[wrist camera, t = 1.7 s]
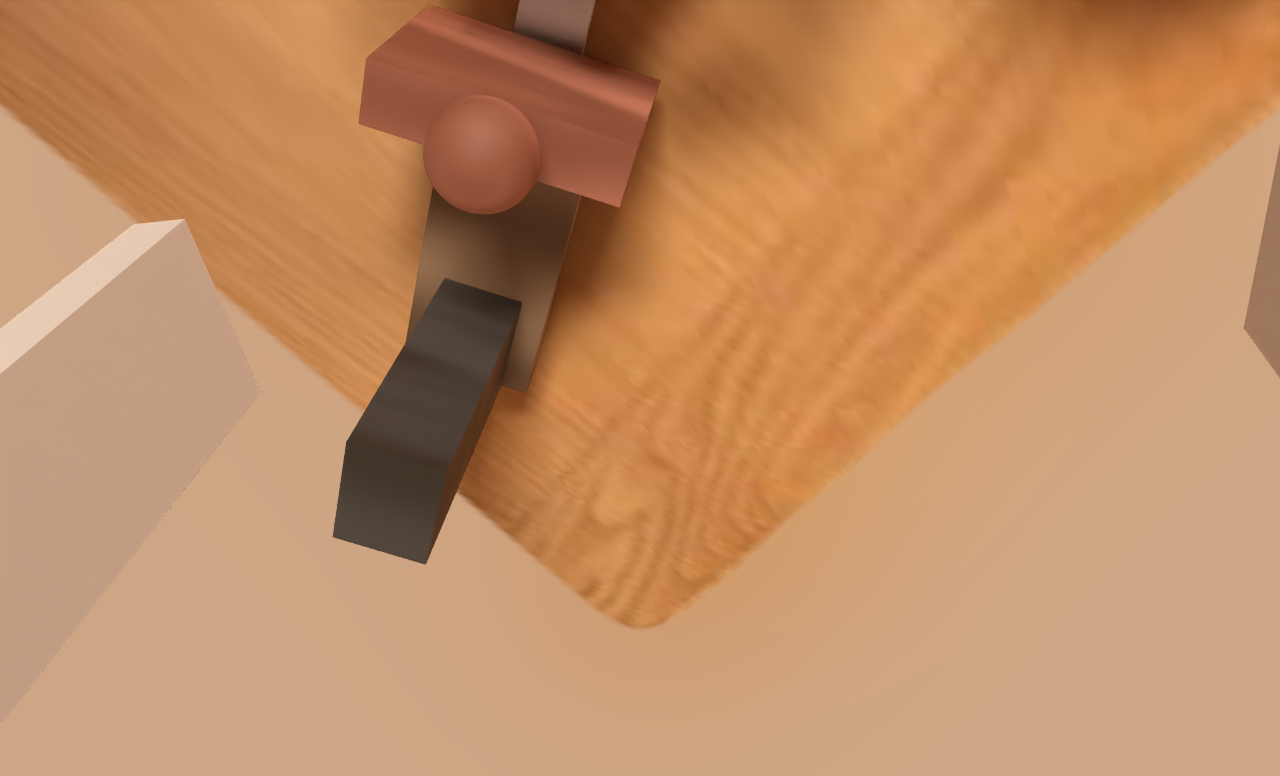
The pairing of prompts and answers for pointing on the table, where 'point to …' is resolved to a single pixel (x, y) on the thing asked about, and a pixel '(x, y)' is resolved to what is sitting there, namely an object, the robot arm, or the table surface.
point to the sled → (477, 246)
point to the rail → (556, 22)
